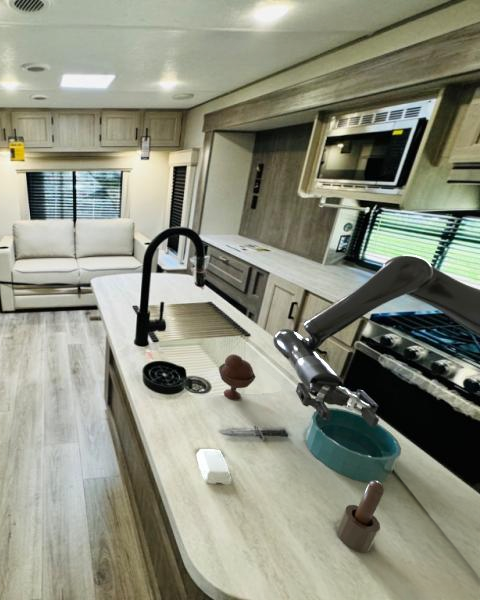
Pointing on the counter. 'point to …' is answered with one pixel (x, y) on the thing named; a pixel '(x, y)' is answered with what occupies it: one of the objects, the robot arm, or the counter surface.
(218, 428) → the counter surface
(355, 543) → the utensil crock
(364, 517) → the brown rounded rod
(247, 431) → the knife
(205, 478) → the soap
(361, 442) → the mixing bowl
